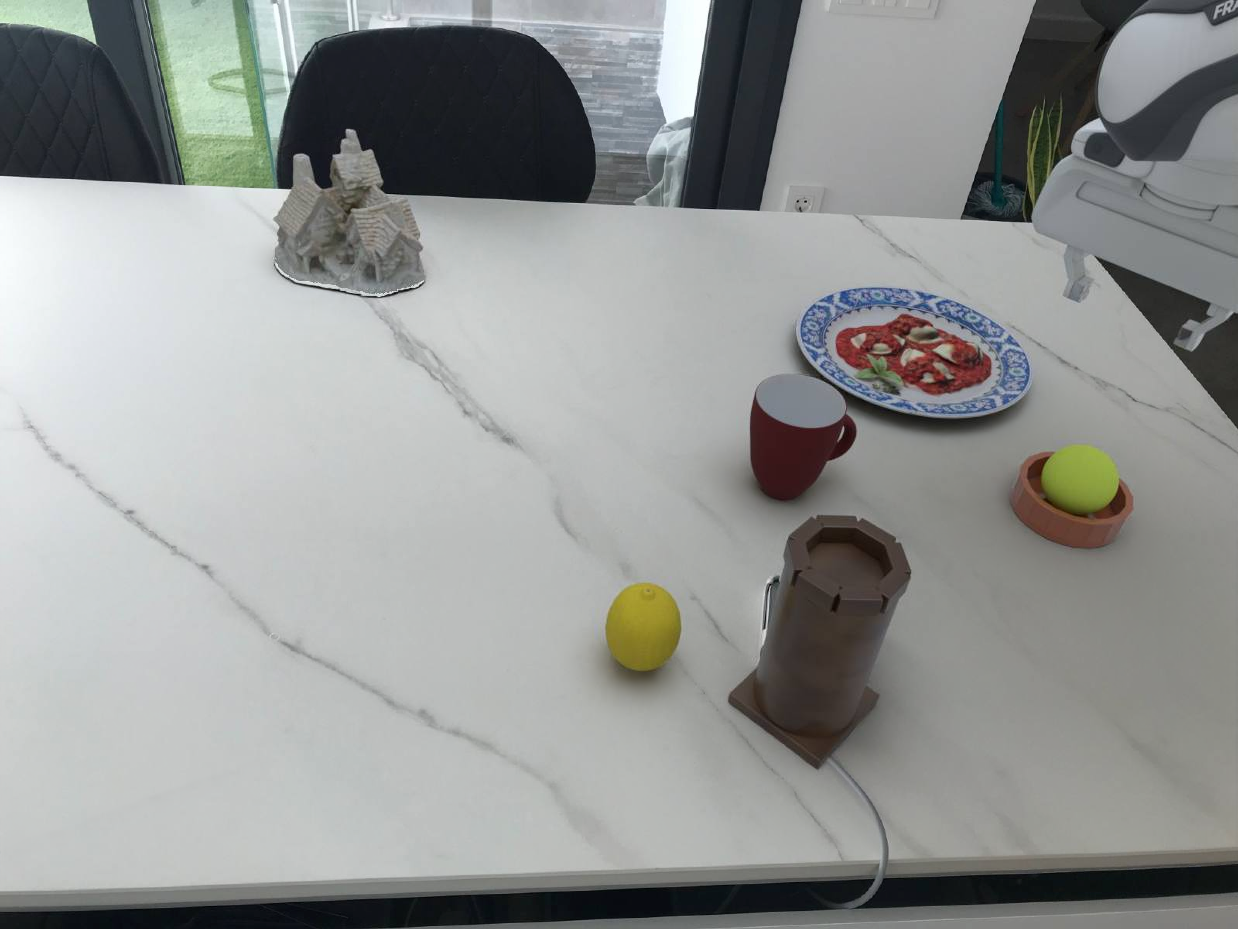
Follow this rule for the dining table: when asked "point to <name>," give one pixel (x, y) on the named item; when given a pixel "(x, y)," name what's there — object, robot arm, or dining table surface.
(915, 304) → the ceramic plate
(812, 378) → the mug
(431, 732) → the dining table surface
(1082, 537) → the terracotta dish
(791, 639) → the brown toy castle tower
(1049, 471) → the tennis ball
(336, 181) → the ceramic cottage
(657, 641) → the lemon
